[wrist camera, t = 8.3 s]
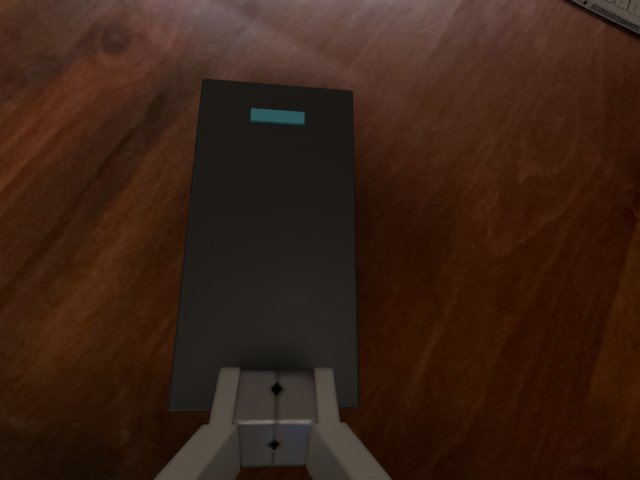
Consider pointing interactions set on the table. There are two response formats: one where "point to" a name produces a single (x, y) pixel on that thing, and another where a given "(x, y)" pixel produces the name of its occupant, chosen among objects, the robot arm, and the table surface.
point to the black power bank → (269, 240)
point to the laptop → (616, 11)
